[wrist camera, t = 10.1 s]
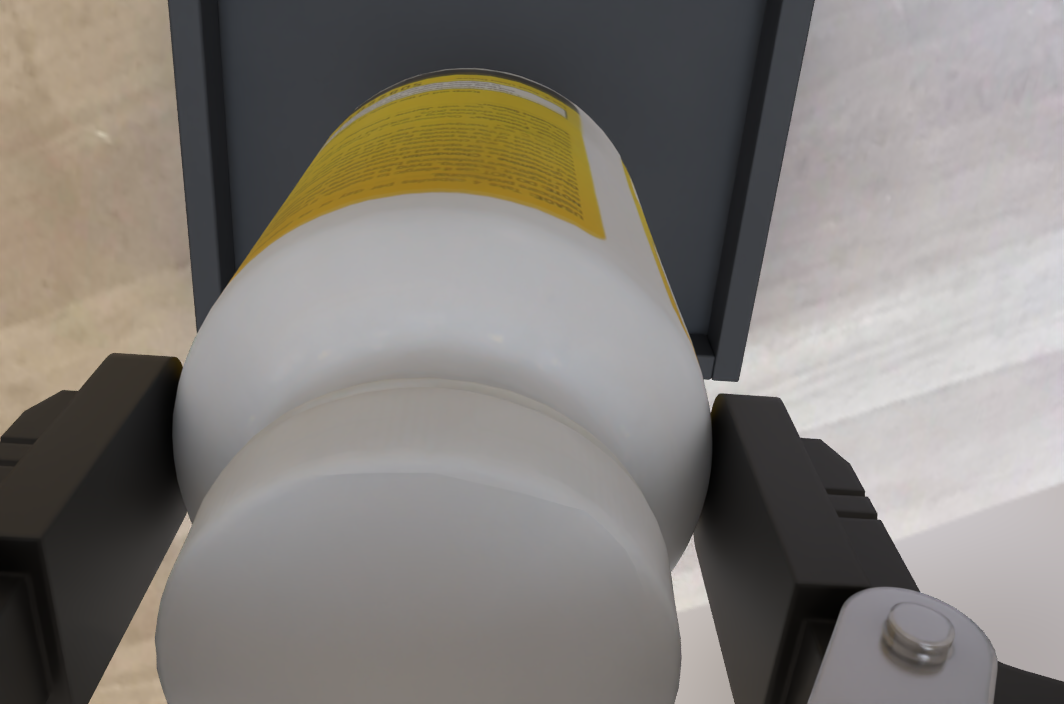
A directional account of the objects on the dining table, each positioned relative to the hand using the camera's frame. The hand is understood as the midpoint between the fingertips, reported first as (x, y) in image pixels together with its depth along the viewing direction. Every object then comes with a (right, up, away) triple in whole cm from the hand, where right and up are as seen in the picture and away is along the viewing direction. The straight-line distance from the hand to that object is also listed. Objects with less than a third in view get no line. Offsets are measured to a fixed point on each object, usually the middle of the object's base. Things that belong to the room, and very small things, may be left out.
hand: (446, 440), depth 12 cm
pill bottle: (0, +4, +7) cm, 8 cm away
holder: (0, +7, +15) cm, 16 cm away
